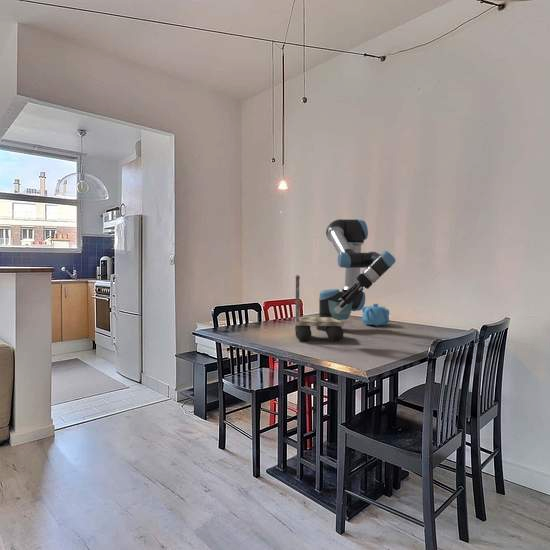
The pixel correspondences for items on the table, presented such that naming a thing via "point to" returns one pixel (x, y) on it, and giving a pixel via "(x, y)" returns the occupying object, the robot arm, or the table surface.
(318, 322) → the trolley
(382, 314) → the decorative pot
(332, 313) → the flower pot
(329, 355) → the table surface
